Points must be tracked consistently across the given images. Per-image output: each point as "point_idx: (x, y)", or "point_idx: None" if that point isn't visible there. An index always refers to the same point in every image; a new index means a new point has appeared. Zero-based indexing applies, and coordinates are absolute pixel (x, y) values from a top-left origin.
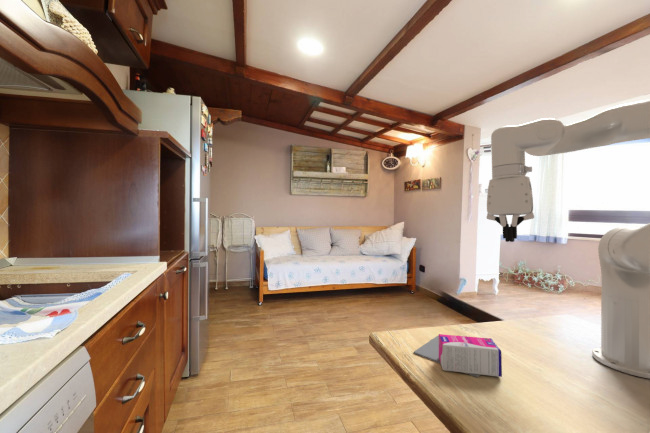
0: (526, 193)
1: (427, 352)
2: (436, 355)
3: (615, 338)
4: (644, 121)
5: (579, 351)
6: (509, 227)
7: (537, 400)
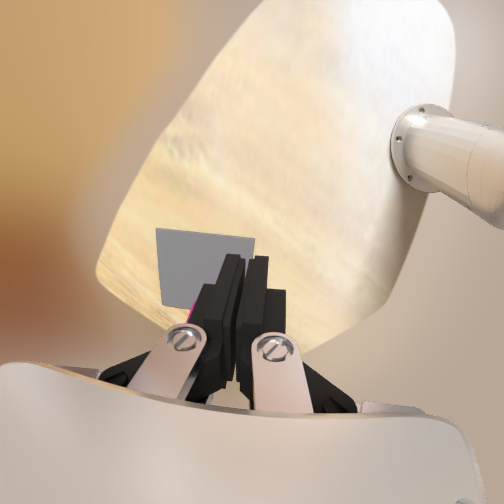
0: None
1: (175, 297)
2: (188, 298)
3: (431, 183)
4: None
5: (375, 128)
6: (239, 381)
7: (306, 320)
